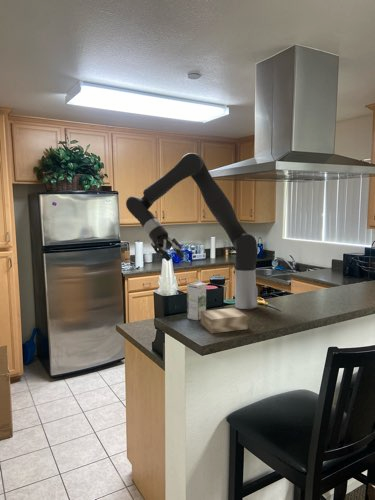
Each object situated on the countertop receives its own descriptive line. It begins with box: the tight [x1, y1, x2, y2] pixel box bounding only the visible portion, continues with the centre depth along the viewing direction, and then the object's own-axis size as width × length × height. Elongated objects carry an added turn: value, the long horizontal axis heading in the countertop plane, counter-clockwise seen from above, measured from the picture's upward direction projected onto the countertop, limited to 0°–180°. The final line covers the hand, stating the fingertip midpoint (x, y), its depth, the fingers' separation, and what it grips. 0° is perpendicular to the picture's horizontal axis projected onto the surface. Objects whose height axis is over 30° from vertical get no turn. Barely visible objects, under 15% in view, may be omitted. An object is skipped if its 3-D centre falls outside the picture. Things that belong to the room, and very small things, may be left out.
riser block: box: [200, 307, 248, 334], centre depth 136 cm, size 14×12×5 cm
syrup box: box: [186, 281, 207, 321], centre depth 147 cm, size 6×6×14 cm
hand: (176, 258), depth 153 cm, fingers open, 8 cm apart
